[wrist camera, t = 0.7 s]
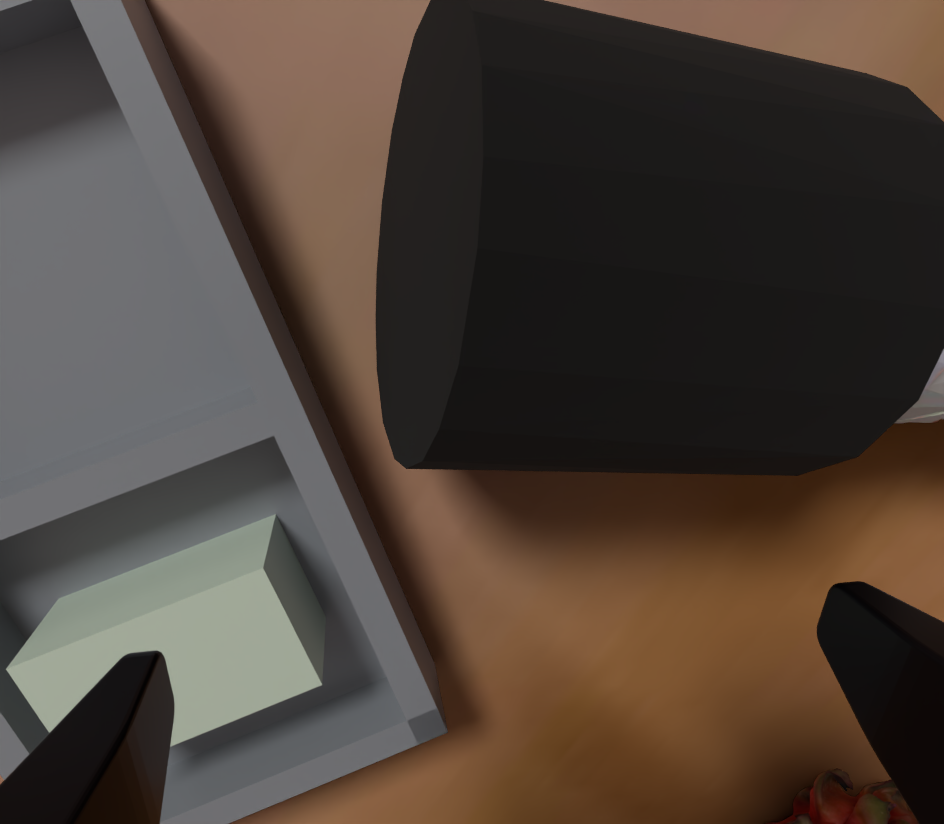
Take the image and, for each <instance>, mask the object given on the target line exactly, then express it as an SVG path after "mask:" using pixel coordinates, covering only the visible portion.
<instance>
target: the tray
mask: <svg viewBox="0 0 944 824" xmlns="http://www.w3.org/2000/svg"><path fill="white" fill-rule="evenodd" d="M155 650H156V651H160V652H162V654H163V655H164V657H165V660H166V665H167V669H168V673H169V678H170V682H171V687H172V691H173V695H174V703H175V711H174V722H173V729H172V737H171V744H170V751H169V759H168V766H167V774H166V781H165V788H164V796H163V803H162V810H161V818H160V824H229V823H231V822H233V821H236V820H238V819H241V818H243V817H245V816H248V815H250V814H253V813H255V812H257V811H260V810H262V809H265V808H267V807H270V806H272V805H274V804H277V803H279V802H282V801H284V800H286V799H289V798H291V797H294V796H296V795H298V794H301V793H303V792H306V791H308V790H310V789H313V788H315V787H318V786H320V785H322V784H325V783H327V782H330V781H332V780H334V779H337V778H339V777H342V776H344V775H347V774H349V773H351V772H354V771H356V770H359V769H361V768H363V767H366V766H368V765H371V764H373V763H375V762H378V761H380V760H383V759H385V758H387V757H390V756H392V755H395V754H397V753H399V752H402V751H404V750H407V749H409V748H412V747H414V746H416V745H419V744H421V743H424V742H426V741H428V740H431V739H433V738H436V737H438V736H440V735H443V734H445V733H448V730H447V725H446V720H445V715H444V710H443V704H442V699H441V694H440V689H439V683H438V678H437V673H436V668H435V664H434V661H433V659H432V657H431V655H430V652H429V650H428V648H427V645H426V643H425V641H424V639H423V636H422V634H421V632H420V629H419V627H418V625H417V623H416V620H415V618H414V616H413V613H412V611H411V609H410V607H409V604H408V602H407V600H406V597H405V595H404V593H403V591H402V588H401V586H400V584H399V581H398V579H397V577H396V574H395V572H394V570H393V568H392V565H391V563H390V561H389V558H388V556H387V554H386V552H385V549H384V547H383V545H382V542H381V540H380V538H379V536H378V533H377V531H376V529H375V526H374V524H373V522H372V520H371V517H370V515H369V513H368V510H367V508H366V506H365V504H364V501H363V499H362V497H361V494H360V492H359V490H358V488H357V485H356V483H355V481H354V478H353V476H352V474H351V471H350V469H349V467H348V465H347V462H346V460H345V458H344V455H343V453H342V451H341V449H340V446H339V444H338V442H337V439H336V437H335V435H334V433H333V430H332V428H331V426H330V423H329V421H328V419H327V417H326V414H325V412H324V410H323V407H322V405H321V403H320V401H319V398H318V396H317V394H316V391H315V389H314V387H313V385H312V382H311V380H310V378H309V375H308V373H307V371H306V368H305V366H304V364H303V362H302V359H301V357H300V355H299V352H298V350H297V348H296V346H295V343H294V341H293V339H292V336H291V334H290V332H289V330H288V327H287V325H286V323H285V320H284V318H283V316H282V314H281V311H280V309H279V307H278V304H277V302H276V300H275V298H274V295H273V293H272V291H271V288H270V286H269V284H268V281H267V279H266V277H265V275H264V272H263V270H262V268H261V265H260V263H259V261H258V259H257V256H256V254H255V252H254V249H253V247H252V245H251V243H250V240H249V238H248V236H247V233H246V231H245V229H244V227H243V224H242V222H241V220H240V217H239V215H238V213H237V211H236V208H235V206H234V204H233V201H232V199H231V197H230V195H229V192H228V190H227V188H226V185H225V183H224V181H223V178H222V176H221V174H220V172H219V169H218V167H217V165H216V162H215V160H214V158H213V156H212V153H211V151H210V149H209V146H208V144H207V142H206V140H205V137H204V135H203V133H202V130H201V128H200V126H199V124H198V121H197V119H196V117H195V114H194V112H193V110H192V108H191V105H190V103H189V101H188V98H187V96H186V94H185V91H184V89H183V87H182V85H181V82H180V80H179V78H178V75H177V73H176V71H175V69H174V66H173V64H172V62H171V59H170V57H169V55H168V53H167V50H166V48H165V46H164V43H163V41H162V39H161V37H160V34H159V32H158V30H157V27H156V25H155V23H154V21H153V18H152V16H151V14H150V11H149V9H148V7H147V5H146V2H145V0H0V775H1V776H2V778H3V779H4V780H5V779H6V778H7V777H8V776H9V775H10V774H11V773H12V772H13V771H14V770H15V769H16V767H17V766H18V765H19V764H20V763H21V762H22V761H23V760H24V759H25V758H26V757H27V756H28V755H29V754H30V753H31V752H32V751H33V750H34V749H35V748H36V747H37V745H38V744H39V743H40V742H41V741H42V740H43V739H44V738H45V737H46V736H47V735H48V734H49V733H50V732H51V731H52V730H53V729H54V728H55V727H56V726H57V725H58V723H59V722H60V721H61V720H62V719H63V718H64V717H65V716H66V715H67V714H68V713H69V712H70V711H71V710H72V709H73V708H74V707H75V706H76V705H77V704H78V703H79V701H80V700H81V699H82V698H83V697H84V696H85V695H86V694H87V693H88V692H89V691H90V690H91V689H92V688H93V687H94V686H95V685H96V684H97V683H98V682H99V680H100V679H101V678H102V677H103V676H104V675H105V674H106V673H107V672H108V671H109V670H110V669H111V668H112V667H113V666H114V665H115V664H116V663H117V662H118V661H119V660H120V659H121V658H122V657H123V656H125V655H126V654H129V653H134V652H145V651H155Z"/></svg>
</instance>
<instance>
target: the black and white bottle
mask: <svg viewBox="0 0 944 824" xmlns="http://www.w3.org/2000/svg"><path fill="white" fill-rule="evenodd" d="M376 351H377V374H378V383H379V391H380V400H381V409H382V417H383V424H384V427H385V430H386V433H387V436H388V440H389V443H390V446H391V449H392V452H393V455H394V459H395V460H397V461H398V462H399V463H400V464H401V465H402V466H404V467H405V468H406V469H453V470H509V471H565V472H621V473H677V474H734V475H790V476H798V475H801V474H804V473H807V472H811V471H814V470H817V469H820V468H823V467H827V466H830V465H833V464H836V463H840V462H843V461H846V460H849V459H852V458H856V457H858V456H859V455H860V454H861V453H863V452H864V451H865V450H866V449H867V448H868V447H869V446H870V445H871V444H872V443H873V442H874V441H875V440H877V439H878V438H879V437H880V436H881V435H882V434H883V433H884V432H885V431H886V430H887V429H888V428H889V427H891V426H892V425H893V424H894V423H907V422H921V423H935V422H938V421H939V420H940V419H944V122H943V121H942V120H941V119H940V118H939V117H938V116H937V115H936V114H935V113H934V112H933V111H932V110H931V109H930V108H928V107H927V106H926V105H925V104H924V103H923V102H922V101H921V100H920V99H919V98H918V97H917V96H916V95H915V94H914V93H913V92H912V91H911V90H910V89H909V88H908V87H905V86H902V85H899V84H896V83H893V82H890V81H887V80H884V79H881V78H878V77H875V76H872V75H869V74H867V73H862V72H858V71H854V70H849V69H845V68H840V67H836V66H831V65H827V64H823V63H818V62H814V61H809V60H805V59H801V58H796V57H792V56H787V55H783V54H778V53H774V52H770V51H765V50H761V49H756V48H752V47H748V46H743V45H739V44H734V43H730V42H726V41H721V40H717V39H712V38H708V37H703V36H699V35H695V34H690V33H686V32H681V31H677V30H673V29H668V28H664V27H659V26H655V25H650V24H646V23H642V22H637V21H633V20H628V19H624V18H620V17H615V16H611V15H606V14H602V13H597V12H593V11H589V10H584V9H580V8H575V7H571V6H567V5H562V4H558V3H553V2H549V1H544V0H431V1H430V3H429V5H428V7H427V9H426V11H425V14H424V16H423V18H422V20H421V22H420V24H419V26H418V29H417V31H416V33H415V36H414V39H413V43H412V47H411V50H410V54H409V57H408V61H407V65H406V68H405V72H404V75H403V79H402V84H401V89H400V94H399V99H398V104H397V109H396V113H395V118H394V123H393V128H392V134H391V141H390V148H389V156H388V163H387V170H386V178H385V185H384V192H383V199H382V210H381V223H380V236H379V250H378V263H377V284H376Z"/></svg>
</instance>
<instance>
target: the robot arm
mask: <svg viewBox="0 0 944 824" xmlns="http://www.w3.org/2000/svg"><path fill="white" fill-rule="evenodd" d="M817 637H818V641H819V644H820V646H821V648H822V650H823V652H824V654H825V656H826V658H827V660H828V662H829V664H830V666H831V668H832V670H833V672H834V674H835V676H836V678H837V680H838V682H839V684H840V686H841V688H842V690H843V692H844V694H845V696H846V698H847V700H848V702H849V704H850V706H851V708H852V710H853V712H854V714H855V716H856V718H857V720H858V722H859V724H860V726H861V728H862V730H863V732H864V734H865V736H866V737H867V739H868V741H869V743H870V745H871V747H872V748H873V750H874V752H875V753H876V755H877V757H878V758H879V760H880V762H881V763H882V765H883V767H884V768H885V770H886V771H887V773H888V775H889V776H890V778H891V779H892V781H893V783H894V784H895V786H896V788H897V789H898V791H899V792H900V794H901V796H902V797H903V799H904V800H905V802H906V804H907V805H908V807H909V808H910V810H911V812H912V813H913V815H914V816H915V818H916V820H917V821H918V823H919V824H944V622H942V621H940V620H938V619H936V618H934V617H932V616H930V615H928V614H926V613H924V612H922V611H921V610H919V609H917V608H915V607H913V606H911V605H909V604H907V603H905V602H903V601H901V600H899V599H897V598H895V597H893V596H891V595H889V594H887V593H885V592H883V591H881V590H879V589H877V588H875V587H873V586H871V585H869V584H867V583H865V582H859V581H855V582H845V583H837V584H834V585H833V586H832V587H831V588H830V589H829V591H828V594H827V597H826V600H825V603H824V606H823V609H822V612H821V615H820V618H819V621H818V625H817ZM174 711H175V703H174V695H173V691H172V687H171V682H170V678H169V673H168V669H167V665H166V660H165V657H164V655H163V654H162V652H160V651H156V650H155V651H145V652H134V653H129V654H126V655H125V656H123V657H122V658H121V659H120V660H119V661H118V662H117V663H116V664H115V665H114V666H113V667H112V668H111V669H110V670H109V671H108V672H107V673H106V674H105V675H104V676H103V677H102V678H101V679H100V680H99V682H98V683H97V684H96V685H95V686H94V687H93V688H92V689H91V690H90V691H89V692H88V693H87V694H86V695H85V696H84V697H83V698H82V699H81V700H80V701H79V703H78V704H77V705H76V706H75V707H74V708H73V709H72V710H71V711H70V712H69V713H68V714H67V715H66V716H65V717H64V718H63V719H62V720H61V721H60V722H59V723H58V725H57V726H56V727H55V728H54V729H53V730H52V731H51V732H50V733H49V734H48V735H47V736H46V737H45V738H44V739H43V740H42V741H41V742H40V743H39V744H38V745H37V747H36V748H35V749H34V750H33V751H32V752H31V753H30V754H29V755H28V756H27V757H26V758H25V759H24V760H23V761H22V762H21V763H20V764H19V765H18V766H17V767H16V769H15V770H14V771H13V772H12V773H11V774H10V775H9V776H8V777H7V778H6V779H5V780H4V781H3V782H2V783H1V784H0V824H160V818H161V810H162V803H163V796H164V788H165V781H166V774H167V766H168V759H169V751H170V744H171V737H172V729H173V722H174Z"/></svg>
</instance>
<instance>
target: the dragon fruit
mask: <svg viewBox="0 0 944 824" xmlns="http://www.w3.org/2000/svg"><path fill="white" fill-rule="evenodd" d="M837 782H838V783H839V784H840V785H841V786H842V787H843V788H844V790H845V791H847V789H846V788H847V787H848V788H850V789H852V790H853V785H852V782H851V780H850V779H849V776H848V774H847V773H846V772H844V771H842V770H841V769H834V770H828V771H825V772H823V773H821V774H819V775H818V776H817V778H816V780H815V781H814V785H813V787H808V788H805V789H803V790H801V791H800V792H799V793H798V794H797V796H796V797H795V798H794V802H793V809H794V811H793V815H792V816H790V817H788V818H787V819H785V820H783V821H780V822H769V823H764V824H919V823H918V821H917V820H916V818H915V816H914V815H913V813H912V812H911V810H910V808H909V807H908V805H907V804H906V802H905V800H904V799H903V797H902V796H901V794H900V792H899V791H898V789H897V788H896V786H895V784H894V783H893V781H892V780H889V781H885V782H878V783H875V784H870V785H866V786H865V787H864V788H863V789H862V790H861V792H860V793H859V794H858V795H857V796H855V797H853V796H849V795H848V794H846V793H845V792H844V791H843V790H842V789H841V787H840V786H839V784H838V783H837Z"/></svg>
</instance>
